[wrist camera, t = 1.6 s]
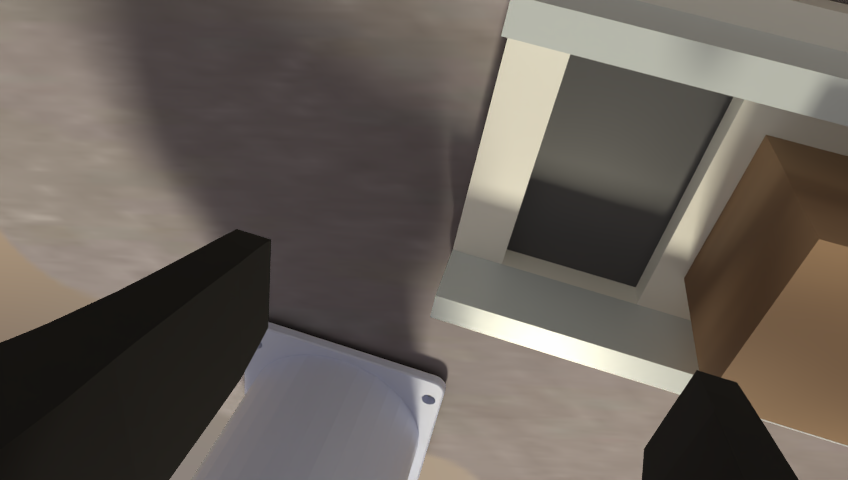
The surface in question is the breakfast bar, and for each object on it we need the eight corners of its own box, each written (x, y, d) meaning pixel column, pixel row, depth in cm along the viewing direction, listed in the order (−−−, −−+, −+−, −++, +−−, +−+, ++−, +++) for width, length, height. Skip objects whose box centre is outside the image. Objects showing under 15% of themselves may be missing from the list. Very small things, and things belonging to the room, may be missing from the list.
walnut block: (849, 326, 16) (916, 466, 13) (683, 278, 16) (704, 401, 13) (965, 187, 13) (1092, 314, 10) (766, 134, 14) (819, 239, 10)
